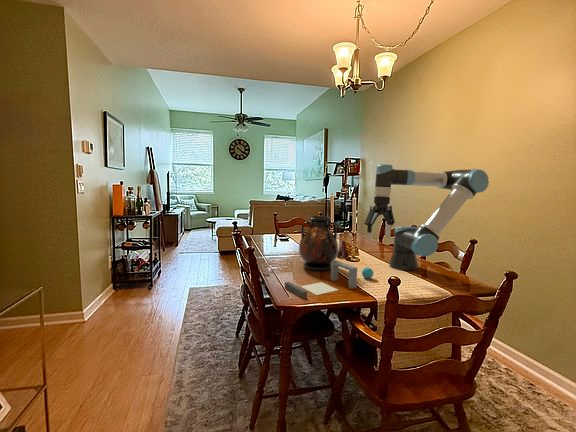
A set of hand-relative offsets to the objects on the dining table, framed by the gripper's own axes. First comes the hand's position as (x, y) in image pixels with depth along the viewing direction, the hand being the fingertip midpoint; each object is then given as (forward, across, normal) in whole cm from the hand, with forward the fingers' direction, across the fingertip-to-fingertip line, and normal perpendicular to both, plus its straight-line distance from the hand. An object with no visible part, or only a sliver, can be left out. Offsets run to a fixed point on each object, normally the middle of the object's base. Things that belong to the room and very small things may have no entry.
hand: (378, 238), depth 156 cm
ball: (+17, +8, +1) cm, 18 cm away
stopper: (+21, +49, -2) cm, 53 cm away
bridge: (+20, +23, 0) cm, 31 cm away
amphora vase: (+20, +16, -27) cm, 37 cm away
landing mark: (+20, +37, -1) cm, 43 cm away
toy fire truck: (+20, -14, -38) cm, 45 cm away
